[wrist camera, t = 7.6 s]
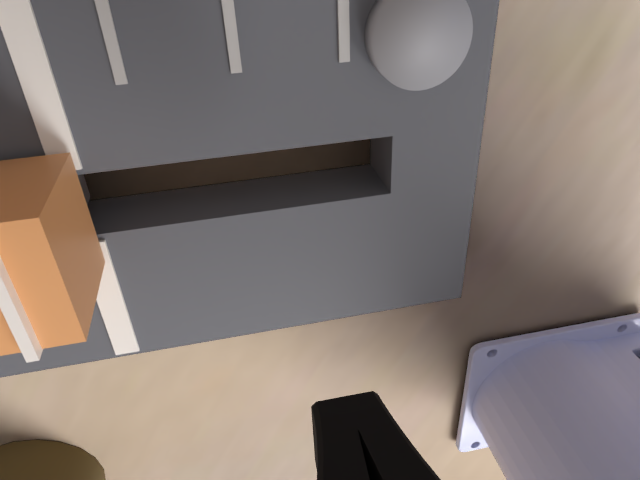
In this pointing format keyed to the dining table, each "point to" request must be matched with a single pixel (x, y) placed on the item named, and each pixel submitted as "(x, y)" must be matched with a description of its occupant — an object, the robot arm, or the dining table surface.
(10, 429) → the dining table surface
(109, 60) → the console board
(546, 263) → the dining table surface
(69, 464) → the olive tapered knobbed piece
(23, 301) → the fader tab
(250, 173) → the dining table surface
